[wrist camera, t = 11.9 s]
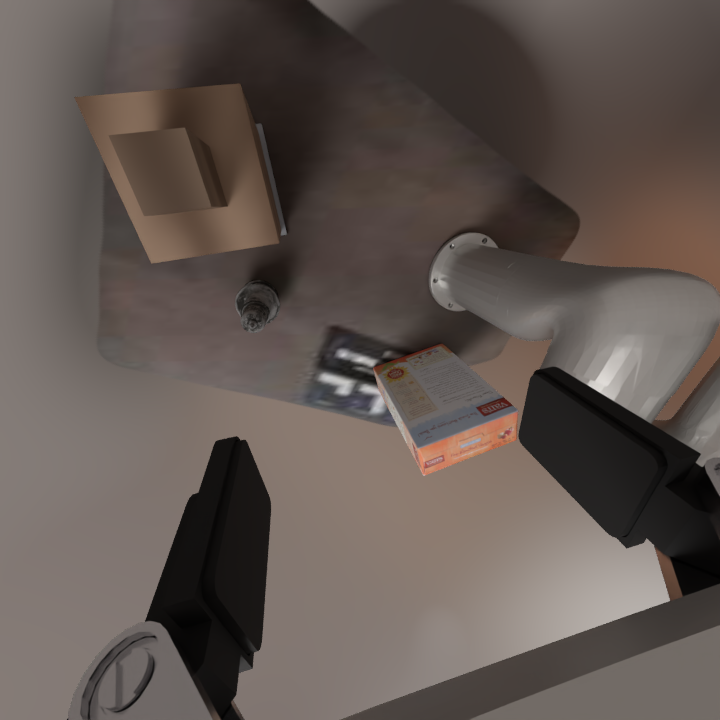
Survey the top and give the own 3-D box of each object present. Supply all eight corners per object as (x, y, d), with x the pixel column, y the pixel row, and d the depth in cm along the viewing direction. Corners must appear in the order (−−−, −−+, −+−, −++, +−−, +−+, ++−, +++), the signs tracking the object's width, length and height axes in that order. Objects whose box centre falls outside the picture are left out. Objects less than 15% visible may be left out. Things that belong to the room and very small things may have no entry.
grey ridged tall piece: (287, 306, 45) (288, 336, 34) (253, 323, 45) (244, 358, 34) (266, 270, 42) (260, 292, 31) (230, 289, 42) (212, 317, 31)
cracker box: (378, 391, 56) (422, 479, 38) (372, 365, 53) (416, 448, 35) (445, 368, 57) (519, 442, 39) (442, 341, 54) (520, 409, 36)
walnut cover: (258, 132, 34) (224, 41, 15) (281, 230, 39) (277, 252, 20) (162, 142, 33) (-5, 56, 14) (199, 242, 38) (114, 279, 19)
